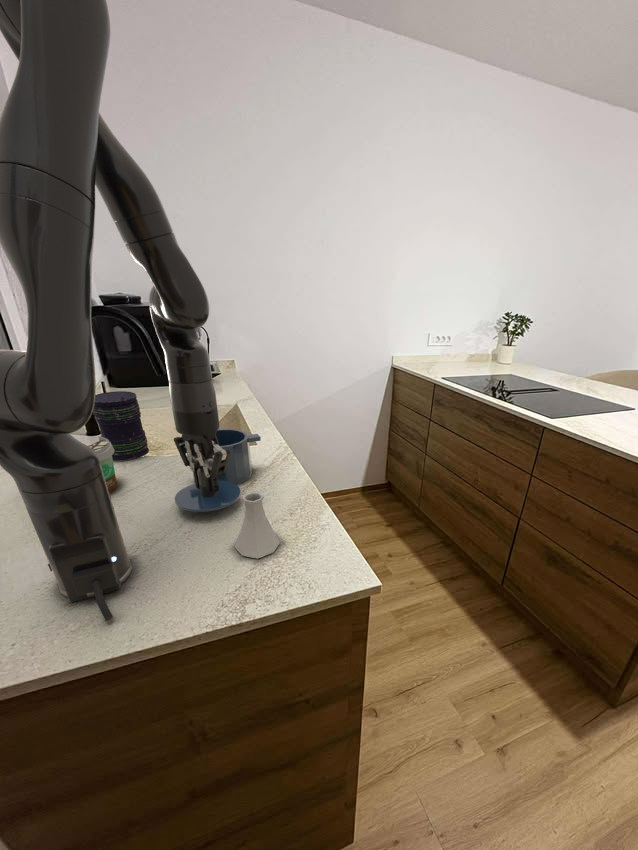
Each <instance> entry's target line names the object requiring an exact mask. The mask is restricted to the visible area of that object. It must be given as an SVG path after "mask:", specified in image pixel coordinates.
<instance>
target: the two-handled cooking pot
mask: <svg viewBox="0 0 638 850" xmlns="http://www.w3.org/2000/svg"><path fill="white" fill-rule="evenodd" d="M216 437H217V439H218V442H219V446H220V447H221V448H222V449H226V448H227V449H229V451H230V455H229V459H228V463H227V467H226V471H225V473H223V474H220V475H218V480H221V481H228V482H231V483H234V484H236V485H239V484H242V483H244V482H246V481H247V480H249V479H250V478H251V477H252V474H253V473H252V472H253V469H252V467H253V465H252V457H251V447H250V443H255V442H261V436H260V435H259V434H258V433H252V434H248V433H247V432H246V431H243V430H241V429H234V428H219V429H218V430H217V432H216ZM209 459H211V458H209ZM206 460H208V459H206ZM206 460H205V461H206ZM198 462H199V461H198ZM209 467H211V468H212V464H211V465H209Z"/></svg>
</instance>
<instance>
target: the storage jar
mask: <svg viewBox="0 0 638 850" xmlns="http://www.w3.org/2000/svg"><path fill="white" fill-rule="evenodd" d="M137 397H138V396H137V394H136V393H135V392H133V391H126V390H125V391H124V390H123V391H122V390H121V391H120V390H119V391H118V390H117V391H107V392H101V393H96V396H95V404H94V408H93V412H92V414H93V416H94V420H95V421H96V423H97V425H98V428H99V432H100V437H103V438H106V439H108V441H109V442H110V443H111V444H112V446H113V448H114V453H113V454H112V459H113V462H126V461H133V460H137V459H140V458H143V457H145V456H146V455H148V454H149V452H150V449H149V447H148V445H149V444H148V439H147V436H146V432H145V429H144V428H143V423H142V418H141V417H142V413H141V409H140V405H139V401H138V399H137Z"/></svg>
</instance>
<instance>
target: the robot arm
mask: <svg viewBox="0 0 638 850" xmlns="http://www.w3.org/2000/svg"><path fill="white" fill-rule="evenodd" d="M0 33H1V35H2V37H3V38H4V40H5V42H6V43H7V45H8V46H9V48H10V49H11V51H12V53H13V55H14V56H15V58H16V59H17V61H18V66H17V69H16V73H15V76H14V79H13V82H12V85H11V88H10V90H9V93H8V95H7V98H6V101H5V102H4V106H3V109H2V112H1V114H0V247H1V249H2V251H3V253H4V255H5V257H6V259H7V261H8V262H9V264H10V267H11V268H12V270H13V272H14V274H15V276H16V278H17V280H18V282H19V284H20V286H21V290H22V292H23V295H24V300H25V303H26V312H27V339H26V349H25V350H23V351H22V350H16V349H15V350H14V349H0V467H1V468H2V469H3V470H4V471H5V472H6V473H7V474H8V475H9V476H11V478H12V479H13V481H14V482H15V485H16V487H17V491H18V492H19V494H20V496H21V499H22V502H23V504H24V505H25V509H26V511H27V513H28V516H29V519H30V521H31V523H32V525H33V528H34V530H35V533H36V535H37V538H38V540H39V542H40V545H41V547H42V550H43V552H44V554H45V557H46V559H47V561H48V564H47V567H48V568H49V571H50V572H52V573H53V575H54V578H55V579H56V582H57V587H58V589H59V592H60V593H61V595H63V596H64V597H66V598H68V601H69V603H75V602H78V601H82V600H86V599H89V598H94V599H95V601H96V604H97V606H98V608H99V611H100V613H101V615H102V616H103V618H104V620H105V622H107V621H109V620H111V619H113V618H114V616H113V614H112V612H111V610H110V608H109V606H108V603H107V602H106V599H105V596H104V594H107V593H111V592H114V591H115V592H116V591H118V590H120V589H121V587H122V586H121V585H122V584H123V583H124V582H125V581H126V580H127V579H128V578H129V576H130V575H131V573H132V571H133V566H132V565H133V564H132V561H131V559H130V558H129V553H128V551H127V547H126V545H125V541H124V538H123V535H122V532H121V528H120V524H119V522H118V521H119V520H118V518H117V515H116V511H115V508H114V505H113V502H112V499H111V495H110V494H111V493H109V491H108V488H107V484H106V481H105V477H104V474H103V471H102V467H101V464H100V460H99V457H98V455H97V453H96V452H95V451H94V450H93V449H92V448H90V447H89V445H87V444H85V443H83V442H81V441H79V440H78V439H77V438H75V437H74V436H73V435H72V433H76V432H78V431H79V430H81V429H82V428H84V427H85V426H86V424H87V423H88V422H89V420H90V419H91V418H92V417H91V416H92V415H93V408H94V404H95V396H96V395H97V385H96V384H97V382H96V380H97V379H96V367H95V356H94V355H95V353H94V341H93V326H92V324H93V323H92V287H93V286H92V283H93V282H92V275H93V274H92V272H93V267H92V266H93V253H94V242H95V225H96V224H95V223H96V189H97V191H98V192H99V195H100V196H101V199H102V200H103V202H104V204H105V207H106V209H107V210H108V212H109V215H110V216H111V219H112V221H113V222H114V225H115V227H116V229H117V231H118V233H119V235H120V237H121V240H122V242H123V244H124V245H125V247H126V249H127V251H128V253H129V255H130V256H131V258H132V259H133V261H134V262H135V263H136V264H137V265H138V266H140V267H142V268H143V269H144V270H145V272H146V274H147V275H148V277H149V279H150V281H151V282H152V284H153V286H152V288H151V289H150V291H149V295H148V305H149V312H150V316H151V321H152V323H153V327H154V330H155V333H156V335H157V338H158V341H159V343H160V346H161V349H162V350H163V354H164V360H165V362H164V363H165V366H166V367H165V368H166V372H167V379H168V386H169V387H168V388H169V398H170V405H171V409H172V410H171V411H172V416H173V421H174V426H175V431H176V432H177V433H178V434H180V435H179V436H176V437H173V442H174V445H175V447H176V449H177V451H178V453H179V455H180V459H181V461H182V463H183V465H184V466H185V467H188V468H189V469H190V471H191V472H192V474H193V480H194V484H196V488H198V489H200V487H199V481H198V474H197V469H198V468H200V467H203V469H204V473H205V476H206V477H205V480H206V487H207V492H208V493H210V494H213V493H215V492H217V491H218V490H219V483H218V475H220V474H223V473H225V471H226V467H227V463H228V459H229V455H230V451H229V449H227V448H226V449H222V448H221V447H220V446H219V442H218V439H217V437H216V432H217V430H218V429H220V419H219V410H218V403H217V401H218V400H217V396H216V394H217V393H216V390H215V386H214V381H213V374H212V368H211V360H210V353H209V351H208V349H207V347H206V346H204V345H203V344H202V342H201V341H200V339H199V336H198V331H197V329H200V328H202V327H203V326H204V325H205V324H206V323H207V321H208V320H209V316H210V301H209V298H208V295H207V293H206V290H205V287H204V286H203V283H202V281H201V279H200V278H199V276H198V275H197V273H196V271H195V269H194V268H193V266H192V263H190V261H189V259H188V257H187V256H186V255H185V253H184V252H183V251H182V249H181V247H180V245H179V242H178V241H177V237H176V235H175V233H174V230H173V227H172V225H171V222H170V219H169V217H168V215H167V213H166V211H165V208H164V205H163V203H162V201H161V199H160V197H159V194H158V192H157V190H156V189H155V187H154V185H153V184H152V181H150V179H149V178H148V176H147V175H146V173H145V172H144V170H143V169H142V168H141V167H140V165H139V164H138V163H137V161H136V160H135V159H134V158H133V157H132V156H131V154H130V153H129V152H128V151H127V149H125V147H124V146H123V145H122V143H121V142H120V141H119V139H118V138H117V137H116V135H114V133H113V132H112V130H111V128H110V127H109V125H108V124H107V122H106V121H105V120H104V118H103V116H102V115H101V113H100V106H101V100H102V94H103V88H104V80H105V74H106V68H107V62H108V57H109V51H110V45H111V44H110V43H111V18H110V13H109V7H108V3H107V0H0ZM209 458H211V459H209ZM206 459H208V460H206ZM205 460H206V461H205ZM198 461H199V462H198ZM211 464H212V468H211V470H210V469H209V465H211Z"/></svg>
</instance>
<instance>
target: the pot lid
mask: <svg viewBox="0 0 638 850" xmlns="http://www.w3.org/2000/svg"><path fill="white" fill-rule="evenodd" d="M209 469H210V470H211V467H209ZM197 474H198V481H199V487H200V489H198V488H196V484H195V483H192V484H189V485H187V486H185V487H183V488H181V489H180V490H178V492H177V493H176V494H175V495H174V504H175V505H176V507H177V508H179V509H181V510H183V511H186V512H192V513H207V512H214V511H218V510H221V509H224V508H227V507H230V506H231V505H233V504H234V503H236V502H237V501H238V500H239V499H240V497H241V494H242V493H241V492H242V491H241V488H240V487H239V485H238V484H234V483H231V482H228V481H221V480H218V483H219V490H218V491H217V492H215V493H213V494H210V493H208V492H207V487H206V480H205V477H206V476H205V473H204V469H203V467H200V468H198V469H197Z"/></svg>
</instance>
